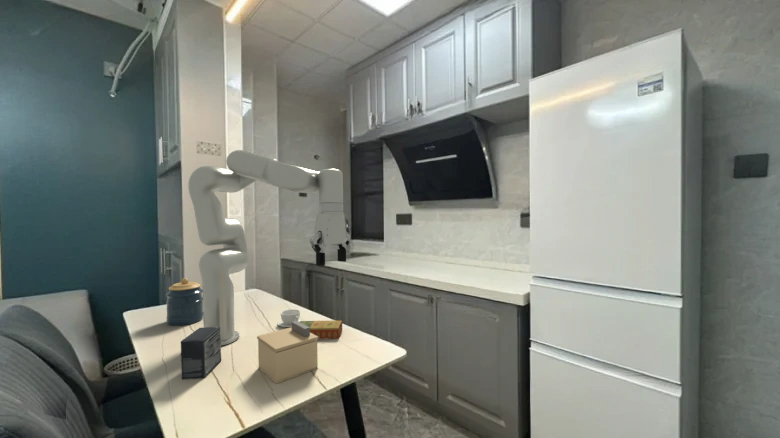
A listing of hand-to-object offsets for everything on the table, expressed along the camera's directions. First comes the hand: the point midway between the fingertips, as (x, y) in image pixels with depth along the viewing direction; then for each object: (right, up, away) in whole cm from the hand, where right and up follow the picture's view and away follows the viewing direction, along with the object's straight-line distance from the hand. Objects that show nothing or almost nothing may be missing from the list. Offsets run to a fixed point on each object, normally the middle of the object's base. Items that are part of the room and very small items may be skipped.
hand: (331, 263), depth 104 cm
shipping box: (-11, -28, -10) cm, 32 cm away
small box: (-35, -29, -11) cm, 46 cm away
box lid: (-11, -20, -10) cm, 25 cm away
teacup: (-21, -28, +28) cm, 45 cm away
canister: (-66, -28, +32) cm, 78 cm away
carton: (-8, -29, +16) cm, 33 cm away
